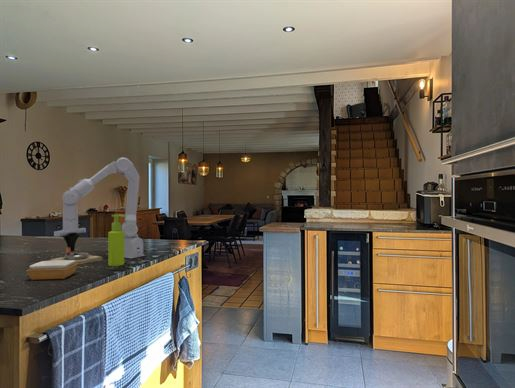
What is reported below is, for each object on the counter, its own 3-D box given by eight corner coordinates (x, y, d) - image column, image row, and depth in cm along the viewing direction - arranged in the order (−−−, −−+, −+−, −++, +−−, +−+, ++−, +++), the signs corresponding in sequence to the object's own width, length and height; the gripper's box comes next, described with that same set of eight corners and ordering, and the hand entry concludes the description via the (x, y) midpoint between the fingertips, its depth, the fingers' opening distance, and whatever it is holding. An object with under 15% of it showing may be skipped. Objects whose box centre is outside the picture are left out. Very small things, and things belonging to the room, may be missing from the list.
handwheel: (92, 255, 150) (92, 245, 150) (83, 259, 141) (83, 249, 141) (70, 255, 150) (70, 245, 150) (60, 259, 141) (60, 249, 141)
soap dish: (78, 273, 124) (78, 259, 124) (66, 280, 114) (66, 265, 114) (41, 274, 122) (41, 260, 122) (25, 281, 113) (25, 265, 113)
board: (102, 259, 148) (102, 256, 148) (71, 265, 136) (71, 262, 136) (81, 256, 155) (81, 253, 155) (50, 262, 142) (50, 258, 142)
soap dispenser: (120, 266, 135) (120, 215, 135) (105, 265, 136) (105, 214, 136) (129, 263, 140) (129, 214, 140) (114, 262, 142) (114, 213, 142)
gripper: (76, 217, 154) (77, 248, 155) (48, 220, 141) (48, 254, 141) (89, 218, 152) (89, 249, 152) (61, 220, 138) (61, 254, 139)
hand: (70, 251), depth 146 cm, fingers closed, pressing on handwheel
